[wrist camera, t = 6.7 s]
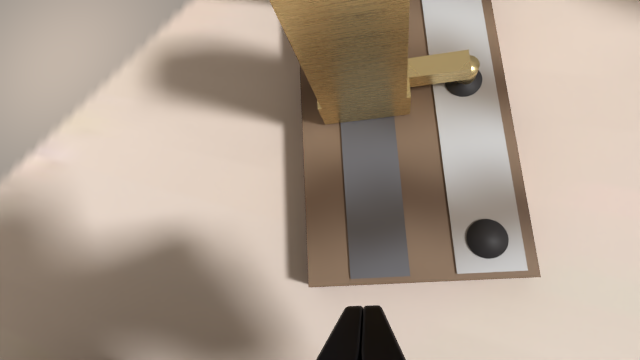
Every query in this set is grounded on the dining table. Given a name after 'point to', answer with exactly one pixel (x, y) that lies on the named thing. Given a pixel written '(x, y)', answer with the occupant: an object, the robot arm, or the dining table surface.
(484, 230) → the gauge board
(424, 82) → the leg
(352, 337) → the robot arm
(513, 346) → the dining table surface
